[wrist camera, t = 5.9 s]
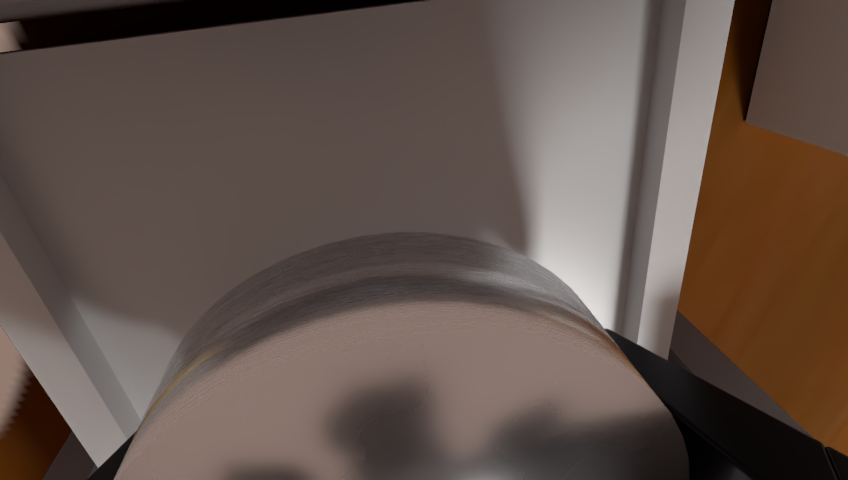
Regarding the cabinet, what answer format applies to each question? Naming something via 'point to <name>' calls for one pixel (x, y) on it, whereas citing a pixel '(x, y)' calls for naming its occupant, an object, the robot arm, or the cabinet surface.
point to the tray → (338, 165)
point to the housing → (685, 351)
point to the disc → (403, 376)
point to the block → (804, 73)
